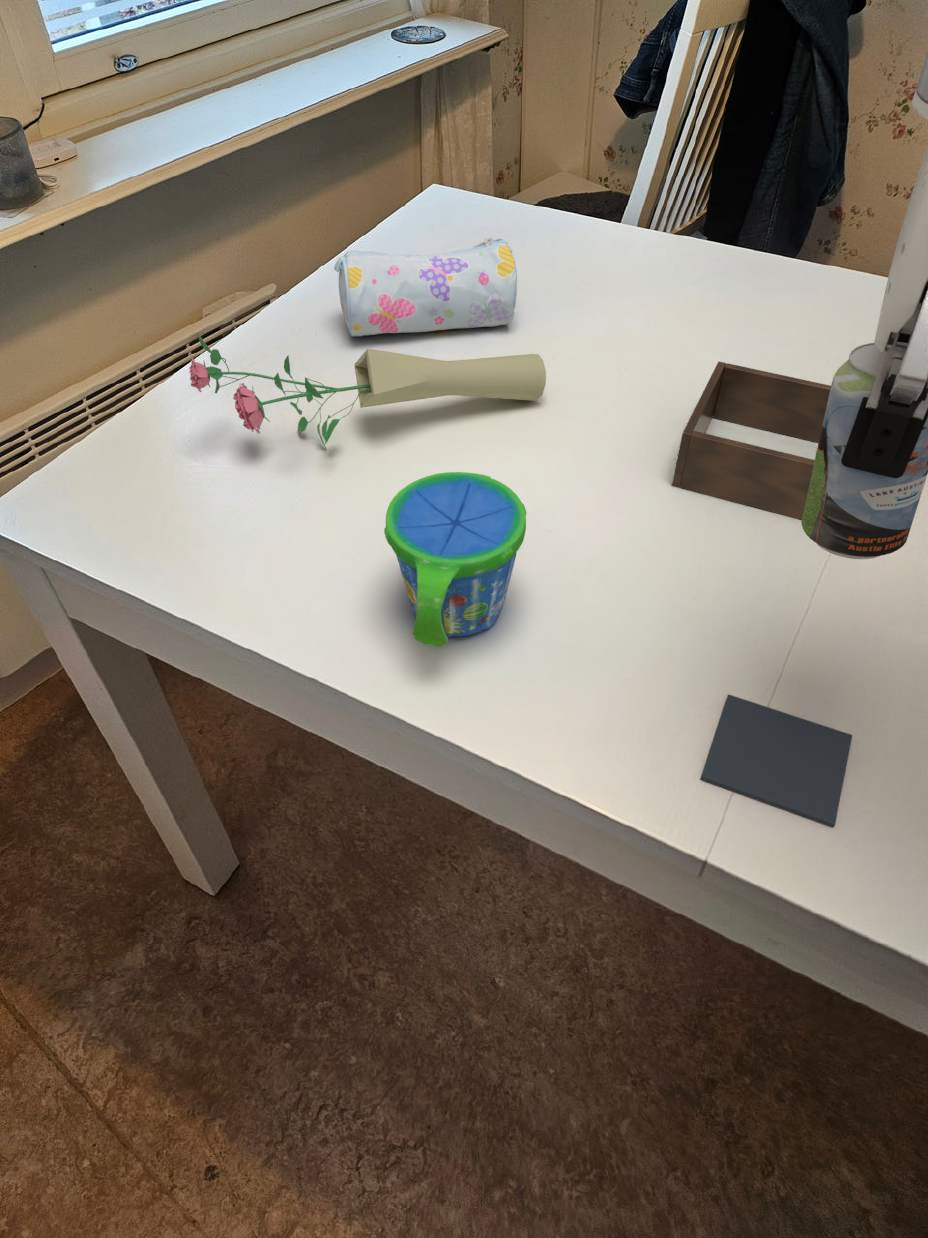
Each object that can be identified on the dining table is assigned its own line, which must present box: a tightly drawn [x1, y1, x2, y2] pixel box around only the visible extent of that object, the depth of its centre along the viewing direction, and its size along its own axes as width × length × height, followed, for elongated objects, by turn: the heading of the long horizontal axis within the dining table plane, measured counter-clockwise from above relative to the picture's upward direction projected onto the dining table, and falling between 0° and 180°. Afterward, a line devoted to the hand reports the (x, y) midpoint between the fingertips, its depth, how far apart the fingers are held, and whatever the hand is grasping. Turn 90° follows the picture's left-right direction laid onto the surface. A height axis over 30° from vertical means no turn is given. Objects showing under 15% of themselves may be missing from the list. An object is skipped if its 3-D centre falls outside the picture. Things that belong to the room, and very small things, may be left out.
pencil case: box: [333, 237, 518, 337], centre depth 101 cm, size 21×9×10 cm, turn 101°
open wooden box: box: [671, 361, 831, 521], centre depth 83 cm, size 15×14×6 cm
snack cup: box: [383, 471, 527, 647], centre depth 68 cm, size 16×10×10 cm
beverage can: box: [801, 342, 928, 560], centre depth 50 cm, size 6×7×12 cm
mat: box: [700, 693, 853, 828], centre depth 62 cm, size 9×8×1 cm
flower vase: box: [188, 333, 547, 451], centre depth 87 cm, size 12×12×35 cm
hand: (880, 434), depth 49 cm, fingers closed on beverage can, 6 cm apart
